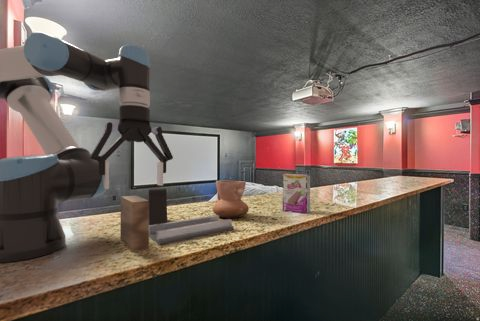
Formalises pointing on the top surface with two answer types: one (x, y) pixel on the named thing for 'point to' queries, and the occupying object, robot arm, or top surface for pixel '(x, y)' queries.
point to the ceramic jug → (230, 199)
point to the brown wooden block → (135, 222)
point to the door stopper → (157, 206)
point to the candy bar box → (296, 193)
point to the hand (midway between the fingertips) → (134, 186)
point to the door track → (188, 229)
